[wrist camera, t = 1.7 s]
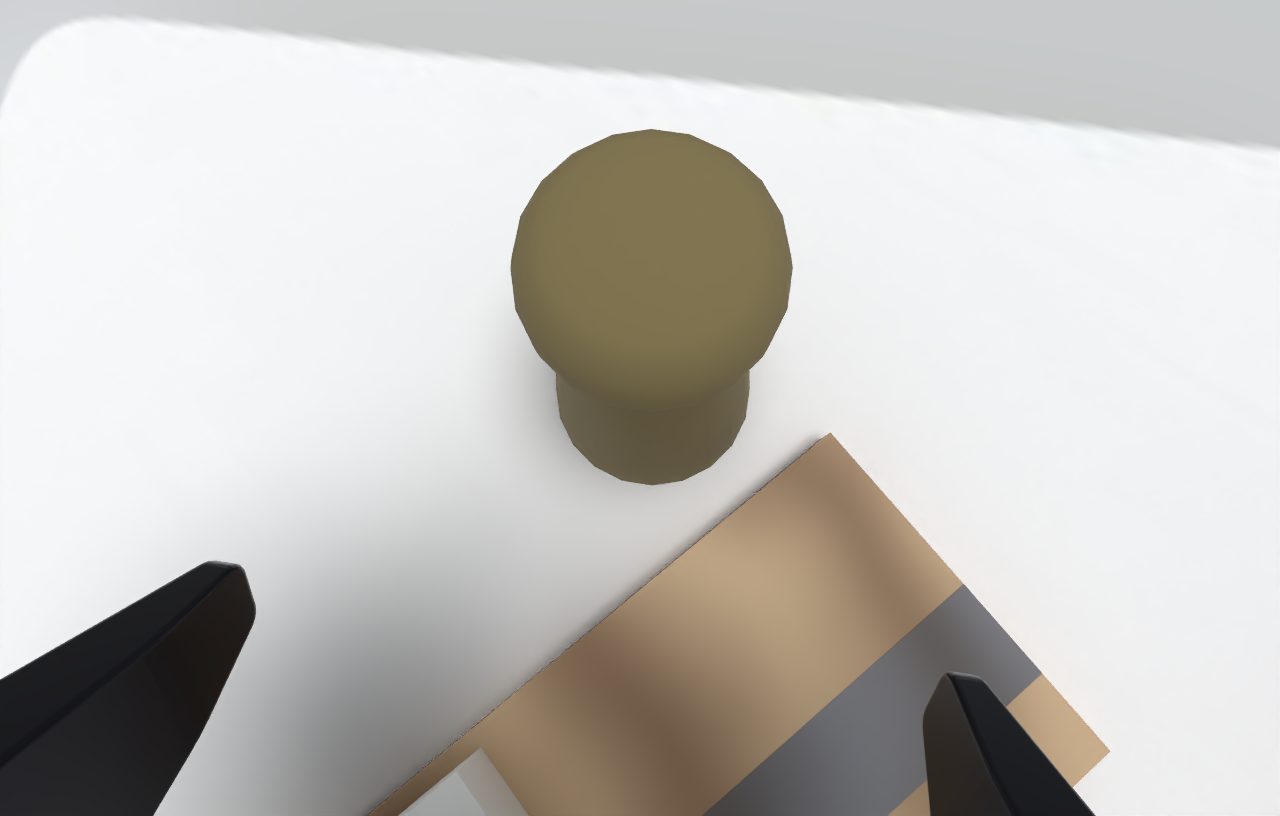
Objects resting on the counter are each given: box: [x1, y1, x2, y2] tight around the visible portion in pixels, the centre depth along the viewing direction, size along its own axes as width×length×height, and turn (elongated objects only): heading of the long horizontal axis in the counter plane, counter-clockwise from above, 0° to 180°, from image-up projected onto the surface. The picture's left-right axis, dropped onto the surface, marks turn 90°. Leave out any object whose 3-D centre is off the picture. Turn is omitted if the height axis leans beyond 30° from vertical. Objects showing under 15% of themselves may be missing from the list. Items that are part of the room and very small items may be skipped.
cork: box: [511, 129, 793, 485], centre depth 17 cm, size 6×6×11 cm
